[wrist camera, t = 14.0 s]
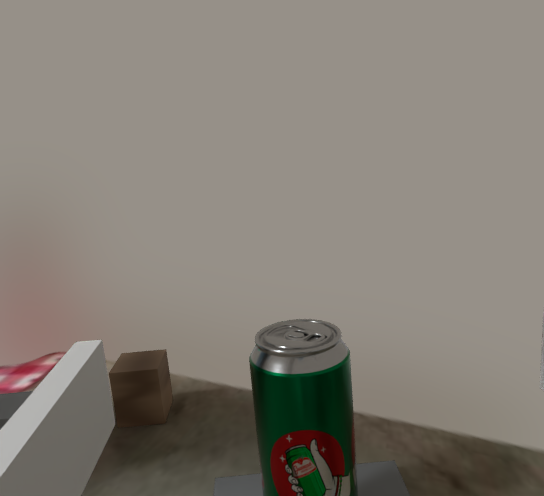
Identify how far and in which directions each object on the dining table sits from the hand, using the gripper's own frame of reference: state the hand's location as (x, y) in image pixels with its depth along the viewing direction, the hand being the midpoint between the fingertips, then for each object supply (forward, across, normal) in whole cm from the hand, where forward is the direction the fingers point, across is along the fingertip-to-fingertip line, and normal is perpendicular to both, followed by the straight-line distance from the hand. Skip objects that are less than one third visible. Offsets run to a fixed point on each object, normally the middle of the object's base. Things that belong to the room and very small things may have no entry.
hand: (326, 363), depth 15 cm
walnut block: (+27, -13, -16) cm, 34 cm away
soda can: (+10, 0, -15) cm, 18 cm away
